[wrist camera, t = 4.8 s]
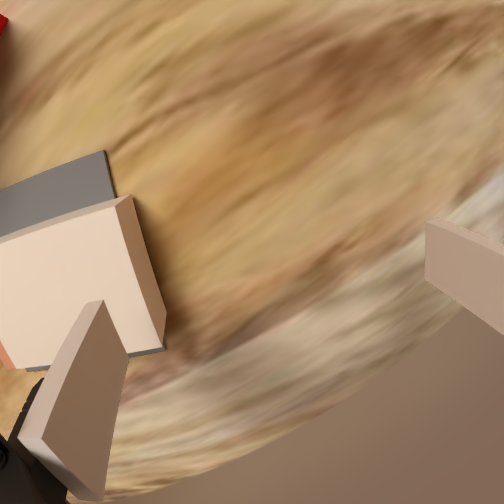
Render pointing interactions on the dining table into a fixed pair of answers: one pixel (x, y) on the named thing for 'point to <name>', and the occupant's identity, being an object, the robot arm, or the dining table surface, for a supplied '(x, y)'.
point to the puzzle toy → (2, 22)
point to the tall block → (76, 282)
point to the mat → (58, 201)
